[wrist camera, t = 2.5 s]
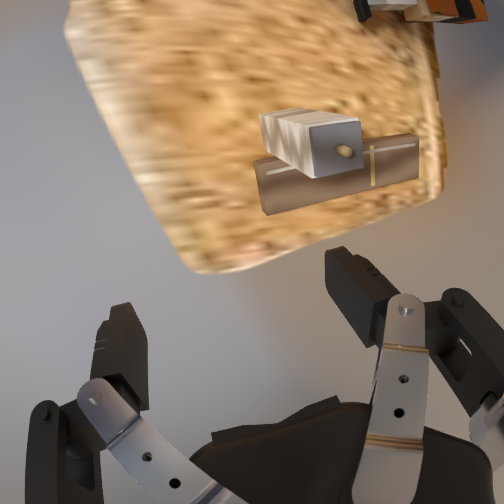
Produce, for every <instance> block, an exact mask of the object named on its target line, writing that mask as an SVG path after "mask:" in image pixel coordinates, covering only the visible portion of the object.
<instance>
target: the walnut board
mask: <svg viewBox="0 0 504 504" xmlns="http://www.w3.org/2000/svg"><path fill="white" fill-rule="evenodd" d="M362 148H363V166H364V168H360V169H356V170H351V171H346V172H342V173H337V174H333V175H328V176H324V177H319V178H313V179H312V178H310V177H309V176H307V175H306V174H304V173H302V172H301V171H299V170H298V169H296V168H294V167H293V166H291V165H289V164H288V163H286V162H284V161H283V160H281V159H279V158H278V157H276V156H274V157H269V158H265V159H260V160H256V161H253V162H254V167H255V173H256V178H257V184H258V189H259V195H260V201H261V206H262V210H263V212H264V213H265V214H266V215H267V216H269V215H272V214H276V213H280V212H284V211H287V210H291V209H295V208H298V207H302V206H306V205H310V204H314V203H317V202H321V201H325V200H329V199H333V198H337V197H341V196H345V195H349V194H353V193H357V192H361V191H365V190H369V189H373V188H377V187H381V186H385V185H389V184H393V183H397V182H402V181H406V180H410V179H414V178H419V136H417V135H414V134H411V133H408V134H399V135H392V136H384V137H377V138H370V139H364V140H362Z"/></svg>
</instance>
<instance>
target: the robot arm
mask: <svg viewBox="0 0 504 504" xmlns="http://www.w3.org/2000/svg"><path fill="white" fill-rule="evenodd" d="M325 284H326V288H327V291H328V293H329V295H330V296H331V298H332V299H333V301H334V302H335V304H336V305H337V306H338V308H339V309H340V311H341V312H342V313H343V315H344V316H345V318H346V319H347V321H348V322H349V324H350V325H351V326H352V328H353V329H354V331H355V332H356V334H357V335H358V337H359V338H360V339H361V341H362V342H363V344H364V345H365V347H366V348H369V347H371V346H373V345H377V347H378V348H379V351H378V355H377V361H376V367H375V372H374V377H373V383H372V388H371V393H370V396H369V401H368V404H365V403H360V402H342V403H340V401H339V399H338V397H337V395H335V396H333V397H330V398H327V399H325V400H322V401H319V402H317V403H314V404H311V405H308V406H306V407H304V408H303V409H301V410H299V411H298V412H296V413H295V414H293V415H291V416H290V417H288V418H286V419H284V420H283V421H281V422H279V423H275V424H264V425H263V424H262V425H242V426H238V427H234V428H230V429H226V430H222V431H217V432H212V433H211V436H212V440H213V441H212V442H210V443H208V444H206V445H204V446H203V447H201V448H200V449H199V450H198V451H196V452H195V453H194V454H193V455H192V456H191V457H190V458H189V460H188V459H187V458H186V457H185V456H184V455H182V454H181V453H180V452H179V451H178V450H177V449H175V448H174V447H173V446H172V445H171V444H170V443H169V442H168V441H167V440H165V439H164V438H163V437H162V436H161V435H160V434H159V433H158V432H157V431H155V429H154V428H152V427H151V426H150V425H149V424H148V423H147V422H146V421H145V420H144V419H143V418H142V417H141V416H140V411H145V410H149V397H148V357H147V356H148V349H147V348H148V343H147V337H146V334H145V331H144V328H143V326H142V324H141V322H140V321H139V318H138V317H137V315H136V312H135V311H134V308H133V306H132V305H131V303H130V302H127V303H123V304H119V305H115V306H112V307H111V311H110V317H109V320H107V321H103V323H102V324H101V326H100V328H99V329H98V331H97V336H96V343H95V348H94V350H95V351H94V354H93V360H92V367H91V374H90V380H89V381H87V382H86V383H85V384H84V385H83V386H82V387H81V388H80V390H79V392H78V395H77V399H75V400H74V401H71V402H69V403H67V404H65V405H62V406H60V407H59V406H58V405H57V404H56V403H55V402H53V401H51V400H45V401H42V402H40V403H39V404H38V405H37V406H36V407H35V408H34V409H33V411H32V413H31V417H30V424H29V433H28V443H27V453H26V469H25V504H104V498H103V489H102V478H101V466H100V451H102V450H104V449H108V450H109V451H110V452H111V454H112V455H113V456H114V457H115V458H116V460H117V461H118V462H119V463H120V464H121V465H122V467H123V468H124V469H125V470H126V471H127V472H128V473H129V474H130V476H131V477H132V478H133V479H134V480H135V481H136V482H137V483H138V484H139V485H140V486H141V487H142V488H143V489H144V490H145V492H146V493H147V494H148V495H149V496H150V497H152V498H153V499H154V501H156V502H157V503H158V504H495V500H494V495H493V494H494V493H493V476H492V475H493V474H492V473H493V472H494V471H495V470H497V469H498V468H499V467H500V466H502V465H503V464H504V330H503V329H502V328H501V327H500V325H499V324H498V323H497V322H496V321H495V320H494V319H493V318H492V317H491V315H490V314H489V313H488V312H487V311H486V310H485V309H484V308H483V307H482V306H481V305H480V304H479V303H478V302H477V301H476V300H475V299H474V298H473V297H472V296H471V294H469V293H468V292H467V291H465V290H463V289H460V288H450V289H447V290H445V291H444V293H443V294H442V298H441V300H440V301H432V302H422V301H421V300H420V299H419V298H418V297H416V296H414V295H411V294H401V293H400V292H399V291H398V290H397V289H396V288H395V287H394V286H393V285H392V284H391V283H390V282H389V281H388V279H387V278H385V276H384V275H382V274H381V273H380V271H379V270H378V269H377V268H375V266H374V265H373V264H372V263H371V262H370V261H369V260H368V259H366V258H364V257H362V256H360V255H358V254H357V255H354V256H353V255H352V254H351V253H350V252H349V251H348V250H347V249H346V248H345V247H344V246H341V247H338V248H334V249H330V250H327V251H326V252H325ZM460 339H462V341H463V342H464V343H465V344H466V346H467V347H468V348H469V349H470V351H471V353H472V356H471V354H470V353H469V352H468V351H467V349H466V348H465V347H464V345H463V344H462V343H461V341H460ZM429 356H430V358H431V359H432V361H433V362H434V363H435V365H436V366H437V368H438V369H439V371H440V372H441V374H442V375H443V377H444V378H445V380H446V381H447V382H448V384H449V386H450V387H451V388H452V390H453V391H454V393H455V395H456V396H457V398H458V399H459V401H460V402H461V404H462V405H463V407H464V409H465V410H466V412H467V413H468V415H469V416H470V418H471V419H470V421H469V432H470V434H469V437H470V440H471V441H472V442H469V441H466V440H463V439H460V438H457V437H454V436H451V435H448V434H445V433H443V432H440V431H437V430H434V429H432V428H429V427H426V426H424V422H425V412H426V402H427V389H428V371H429Z"/></svg>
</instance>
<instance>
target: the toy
mask: <svg viewBox="0 0 504 504" xmlns="http://www.w3.org/2000/svg"><path fill="white" fill-rule="evenodd" d="M353 3H354V6H355V10H356V13H357V17H358V20H359V22H365V21H366V20H367V19H369V18H370V17H372V14H371V11H376V10H402V13H403V17H404V21H405V22H406V23H417V22H443V23H455V24H465V23H473V22H481V21H488V16H487V12H486V8H485V5H484V1H483V0H354V1H353Z"/></svg>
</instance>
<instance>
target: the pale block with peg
mask: <svg viewBox="0 0 504 504" xmlns="http://www.w3.org/2000/svg"><path fill="white" fill-rule="evenodd" d="M259 120H260V125H261V131H262V137H263V142H264V148H265V150H266V151H267V152H269V153H271V154H272V155H274V156H276V157H278V158H279V159H281V160H283V161H284V162H286V163H288V164H289V165H291V166H293V167H294V168H296V169H298V170H299V171H301V172H302V173H304V174H306V175H307V176H309V177H310V178H312V179H313V178H319V177H324V176H328V175H333V174H337V173H342V172H346V171H351V170H356V169H360V168H364V166H363V148H362V134H361V122H360V121H358V118H355V117H351V116H345V115H340V114H335V113H329V112H323V111H317V110H311V109H304V108H291V109H285V110H279V111H273V112H267V113H262V114H259Z"/></svg>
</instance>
